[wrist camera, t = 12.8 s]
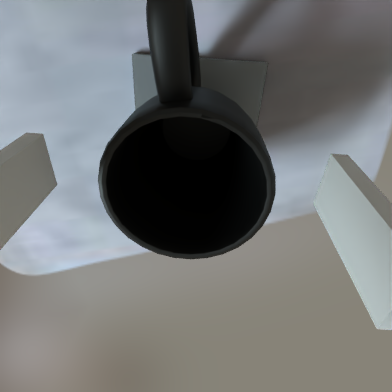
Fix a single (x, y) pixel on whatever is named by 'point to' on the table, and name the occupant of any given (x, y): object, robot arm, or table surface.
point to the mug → (185, 155)
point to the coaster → (211, 81)
